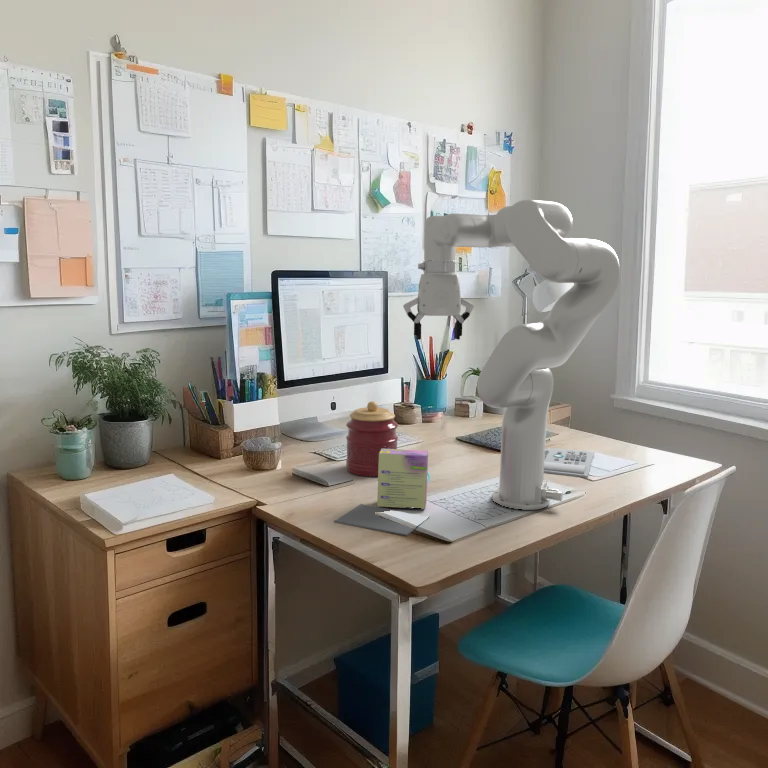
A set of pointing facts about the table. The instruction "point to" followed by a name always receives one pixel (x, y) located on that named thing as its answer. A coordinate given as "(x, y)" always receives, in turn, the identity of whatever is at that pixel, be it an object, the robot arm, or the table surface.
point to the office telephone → (568, 462)
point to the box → (402, 478)
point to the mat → (372, 520)
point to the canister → (369, 438)
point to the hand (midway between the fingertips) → (437, 339)
